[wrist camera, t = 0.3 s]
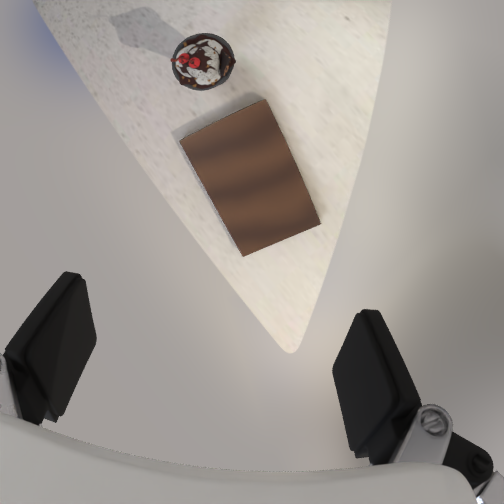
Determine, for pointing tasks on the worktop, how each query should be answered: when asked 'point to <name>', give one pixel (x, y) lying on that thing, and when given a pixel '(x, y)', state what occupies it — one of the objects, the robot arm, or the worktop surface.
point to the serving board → (251, 178)
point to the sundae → (203, 61)
